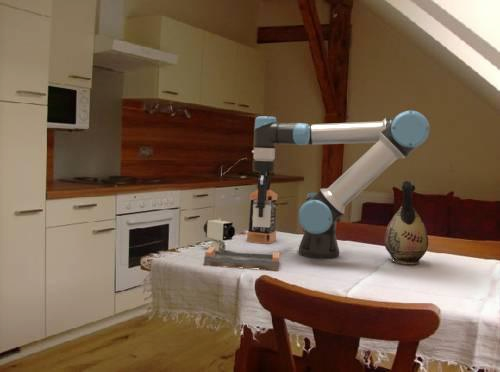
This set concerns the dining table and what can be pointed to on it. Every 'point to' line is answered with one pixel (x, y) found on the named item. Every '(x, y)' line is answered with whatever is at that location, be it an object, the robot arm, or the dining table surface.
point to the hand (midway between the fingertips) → (261, 224)
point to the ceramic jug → (406, 232)
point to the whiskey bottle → (265, 233)
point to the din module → (267, 214)
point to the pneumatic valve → (219, 232)
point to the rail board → (241, 259)
